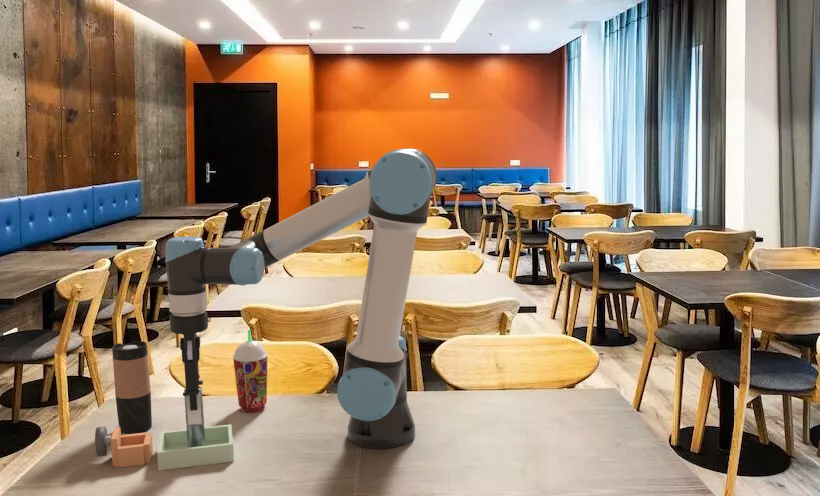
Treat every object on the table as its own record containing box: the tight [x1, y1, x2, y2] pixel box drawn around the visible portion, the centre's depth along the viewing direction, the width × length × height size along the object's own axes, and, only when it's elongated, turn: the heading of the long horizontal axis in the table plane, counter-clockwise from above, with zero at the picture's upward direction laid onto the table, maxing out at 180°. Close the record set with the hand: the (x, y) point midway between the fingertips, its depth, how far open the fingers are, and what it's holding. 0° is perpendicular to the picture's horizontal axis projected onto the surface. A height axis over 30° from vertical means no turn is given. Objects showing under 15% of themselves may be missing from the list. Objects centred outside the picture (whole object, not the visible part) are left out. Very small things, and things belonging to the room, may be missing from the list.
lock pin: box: [183, 386, 205, 448], centre depth 161 cm, size 4×4×13 cm
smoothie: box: [232, 329, 269, 413], centre depth 187 cm, size 8×8×20 cm
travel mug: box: [111, 340, 153, 435], centre depth 175 cm, size 8×8×20 cm
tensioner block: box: [94, 426, 154, 468], centre depth 160 cm, size 10×7×8 cm
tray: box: [156, 424, 235, 471], centre depth 162 cm, size 15×11×4 cm
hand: (195, 419), depth 161 cm, fingers closed on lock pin, 3 cm apart
